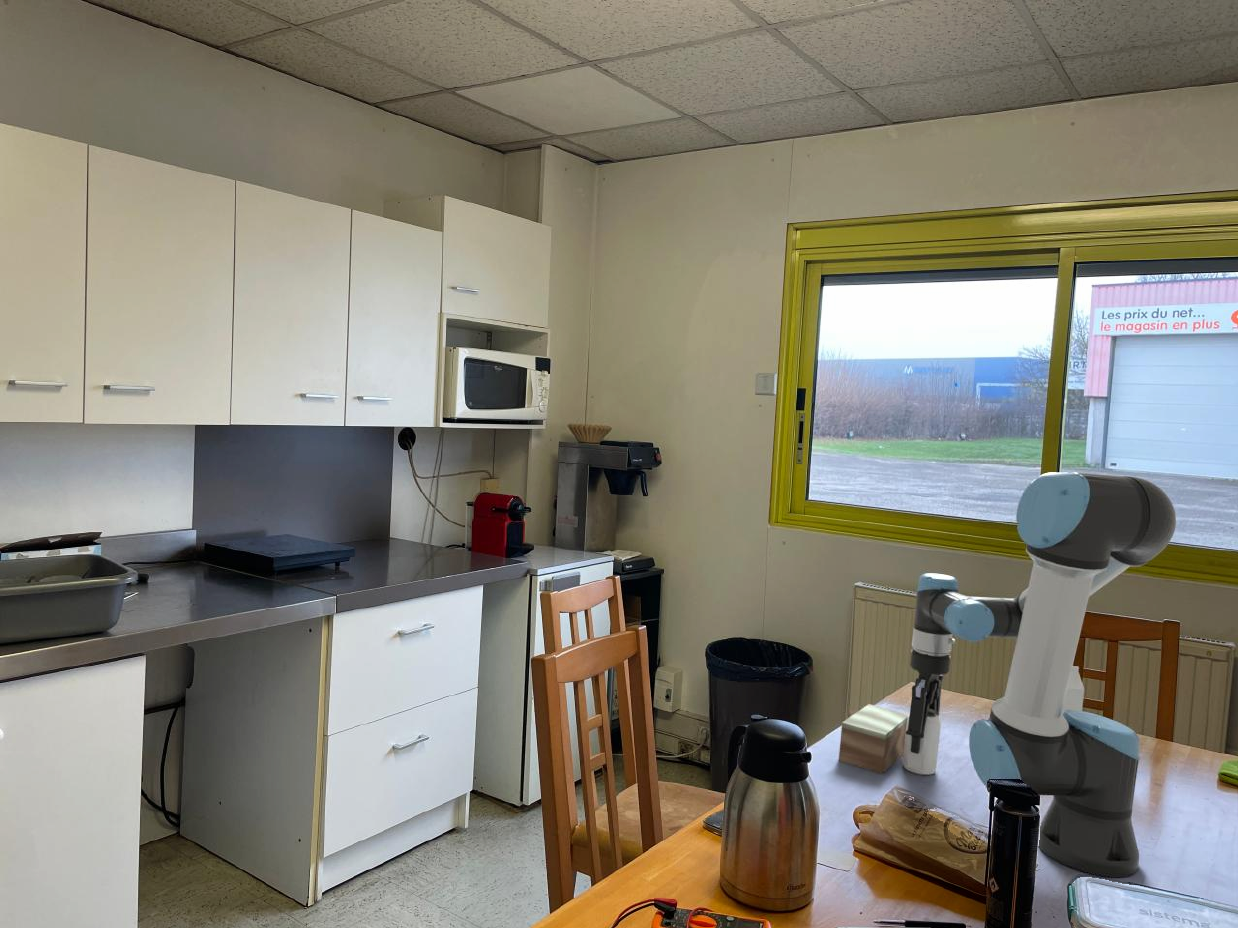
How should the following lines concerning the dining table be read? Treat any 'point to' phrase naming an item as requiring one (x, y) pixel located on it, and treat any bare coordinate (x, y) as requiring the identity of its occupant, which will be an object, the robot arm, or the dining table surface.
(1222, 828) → the dining table surface
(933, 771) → the can
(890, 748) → the stand
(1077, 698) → the milk carton
